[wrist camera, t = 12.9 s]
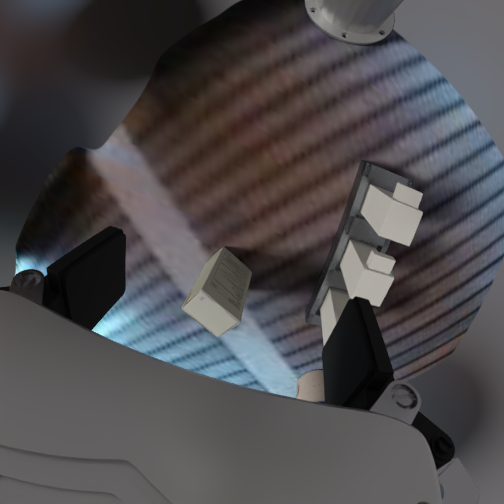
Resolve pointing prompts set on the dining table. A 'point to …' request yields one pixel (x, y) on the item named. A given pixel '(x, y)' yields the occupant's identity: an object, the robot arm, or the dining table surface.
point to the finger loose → (332, 310)
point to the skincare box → (219, 293)
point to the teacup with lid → (311, 386)
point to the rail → (352, 233)
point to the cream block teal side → (393, 212)
